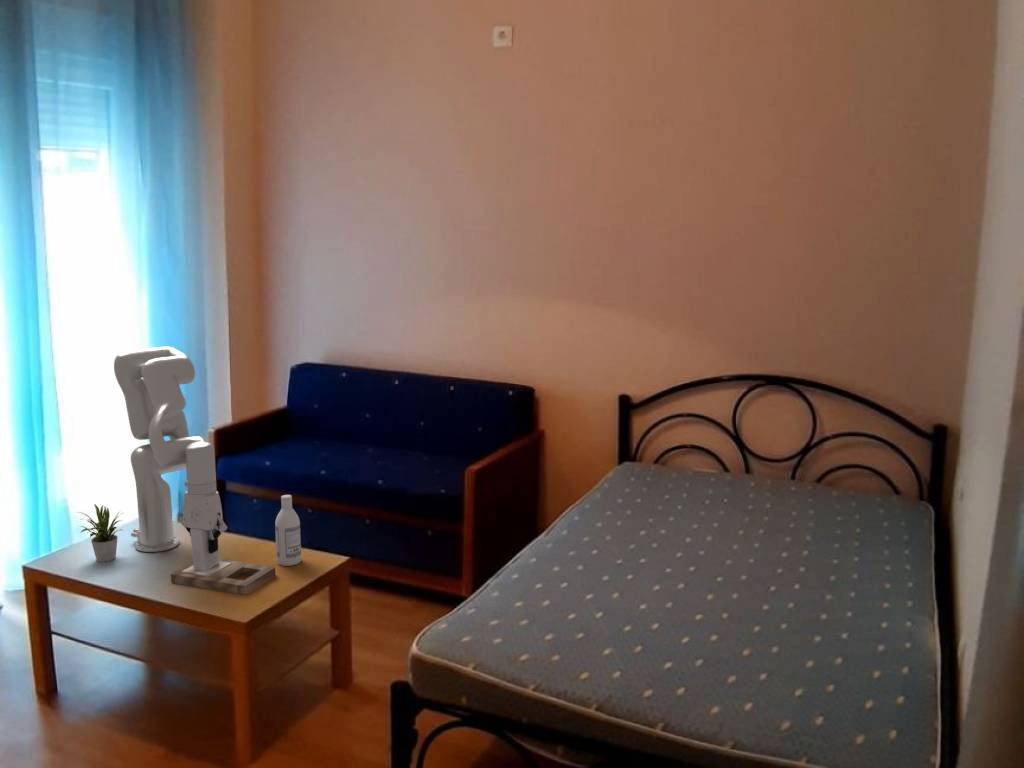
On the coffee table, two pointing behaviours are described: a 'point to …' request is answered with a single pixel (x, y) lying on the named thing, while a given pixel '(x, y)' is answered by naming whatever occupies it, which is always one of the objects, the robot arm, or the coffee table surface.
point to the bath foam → (288, 534)
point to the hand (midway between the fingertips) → (205, 549)
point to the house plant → (103, 535)
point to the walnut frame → (225, 576)
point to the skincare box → (202, 550)
